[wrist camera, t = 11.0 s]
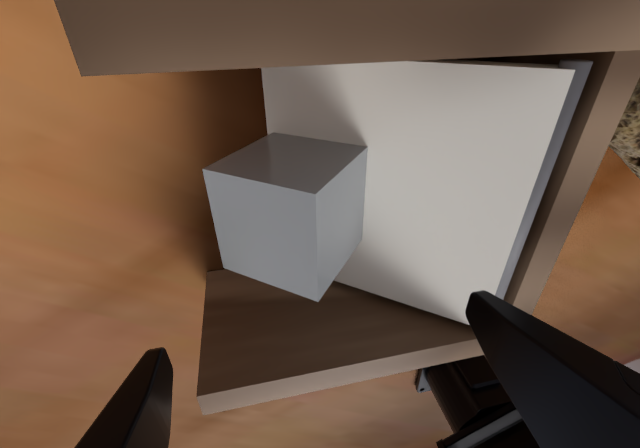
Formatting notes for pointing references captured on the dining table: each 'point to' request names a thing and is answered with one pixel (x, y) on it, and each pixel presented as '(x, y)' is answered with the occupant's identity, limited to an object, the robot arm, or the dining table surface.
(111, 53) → the trapdoor frame
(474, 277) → the trapdoor
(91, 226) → the dining table surface
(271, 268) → the grey cube
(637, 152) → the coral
